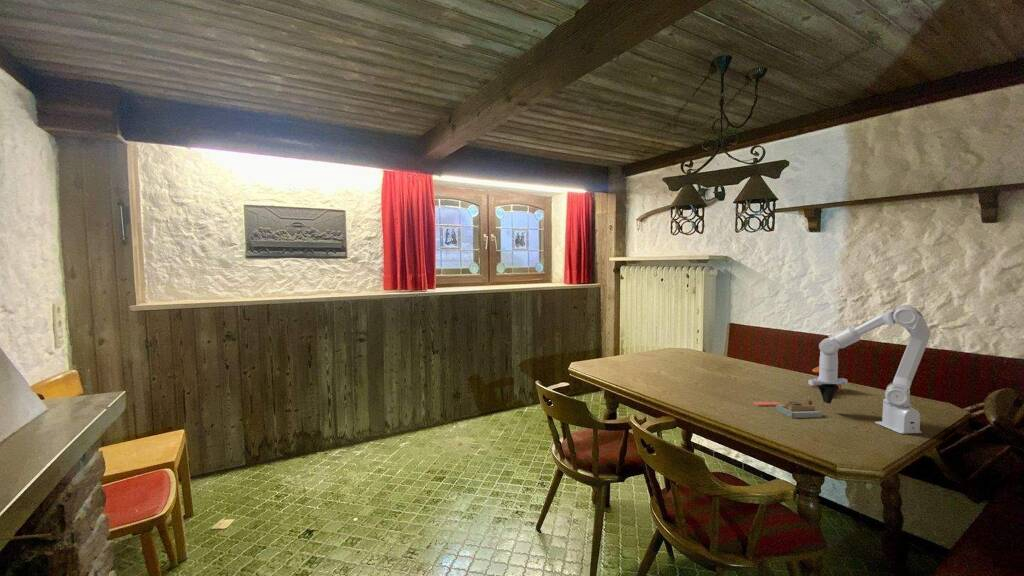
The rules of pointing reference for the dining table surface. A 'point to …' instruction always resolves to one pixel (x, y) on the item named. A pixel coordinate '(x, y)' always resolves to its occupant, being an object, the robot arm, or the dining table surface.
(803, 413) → the cradle jig
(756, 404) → the wing plank
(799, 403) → the fuselage block
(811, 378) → the orange handled valve
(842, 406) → the dining table surface
